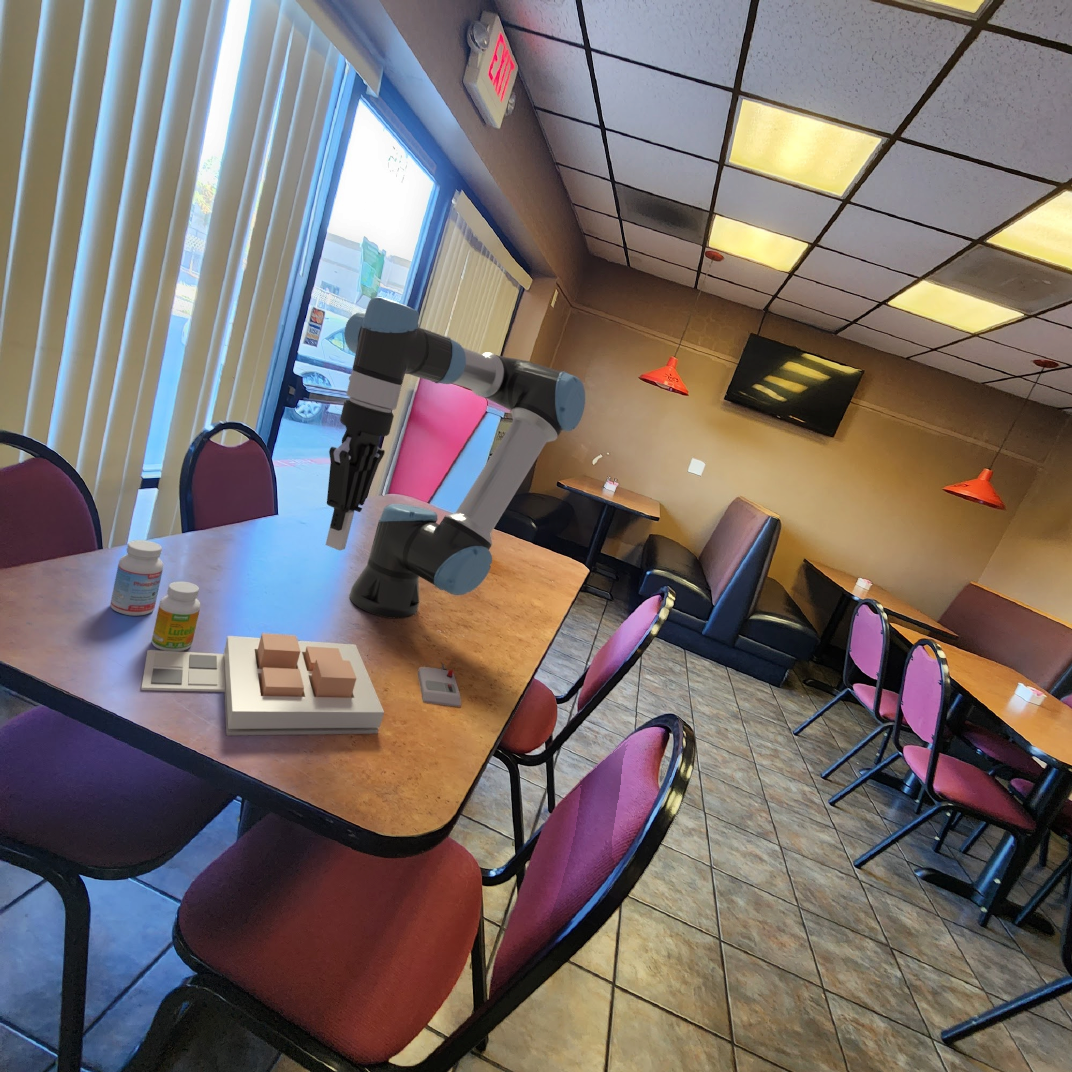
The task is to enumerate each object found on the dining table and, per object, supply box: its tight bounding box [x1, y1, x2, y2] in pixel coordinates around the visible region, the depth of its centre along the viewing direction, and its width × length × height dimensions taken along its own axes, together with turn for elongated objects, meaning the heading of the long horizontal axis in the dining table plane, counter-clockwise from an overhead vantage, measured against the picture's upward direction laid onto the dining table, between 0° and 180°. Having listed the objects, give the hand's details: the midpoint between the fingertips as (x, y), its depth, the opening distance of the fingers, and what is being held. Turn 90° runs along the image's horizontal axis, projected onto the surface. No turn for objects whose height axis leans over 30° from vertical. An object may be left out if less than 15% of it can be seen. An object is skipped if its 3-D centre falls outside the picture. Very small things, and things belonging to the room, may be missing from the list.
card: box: [140, 649, 225, 693], centre depth 85 cm, size 10×10×1 cm
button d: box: [304, 646, 342, 671], centre depth 93 cm, size 5×5×3 cm
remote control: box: [417, 662, 462, 708], centre depth 104 cm, size 7×16×3 cm, turn 17°
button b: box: [257, 632, 300, 669], centre depth 89 cm, size 5×5×3 cm
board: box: [222, 635, 385, 736], centre depth 88 cm, size 20×20×4 cm
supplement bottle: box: [151, 581, 201, 652], centre depth 89 cm, size 5×5×10 cm
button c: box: [311, 659, 357, 698], centre depth 87 cm, size 5×5×3 cm
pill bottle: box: [110, 539, 164, 617], centre depth 95 cm, size 6×6×11 cm
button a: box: [259, 667, 304, 697], centre depth 83 cm, size 5×5×3 cm
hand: (335, 546), depth 95 cm, fingers closed
